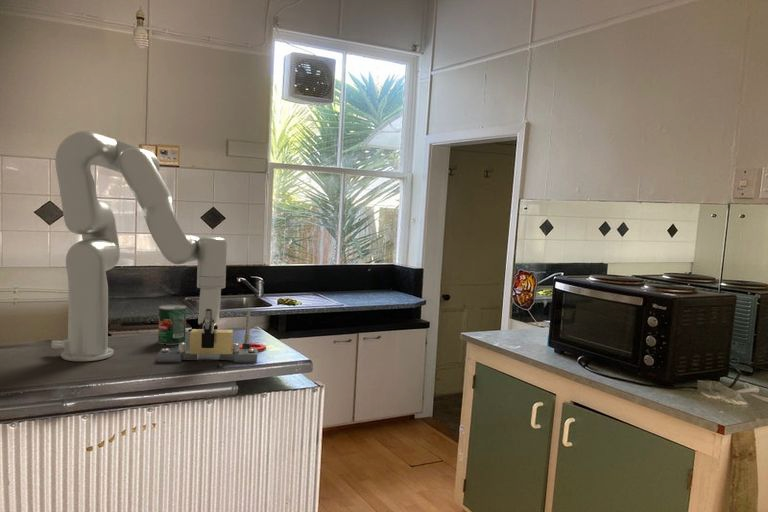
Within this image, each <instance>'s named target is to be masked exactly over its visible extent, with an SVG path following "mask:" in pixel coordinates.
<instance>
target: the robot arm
mask: <svg viewBox="0 0 768 512" xmlns="http://www.w3.org/2000/svg"><path fill="white" fill-rule="evenodd" d="M54 160H55V161H54V163H55V164H54V165H55V171H56V172H55V173H56V177H57V181H58V182H57V183H58V187H59V195H60V203H61V207H62V215H63V221H64V224H65V227H66V229H68V230H69V232H71V233H73V234H75V235H81V238H82V240H80V241H79V240H78V241H77V242H75V243H74V244H72V245H71V246H70V248H69V249H68V251H67V253H66V255H65V269H66V275H67V282H68V283H67V284H68V293H67V294H68V321H67V323H68V326H67V327H68V328H67V329H68V331H67V336H68V337H67V339H65V340H52V341H51V343H50V346H51V348H53V350H61V349H62V350H63V351H62V352H61V354H60V355H61V359H63V360H65V361H69V362H70V361H71V362H94V361H100V360H101V361H102V360H104V359H105V360H106V359H108V358H111V357H112V356H113V355H114V349H113V348H111V347H108V337H109V336H108V332H109V330H108V329H109V327H108V326H109V284H108V279H107V271H110V270H112V269H114V267H116V266H117V264H118V263H119V261H120V256H121V252H120V251H121V250H120V243H119V238H118V237H119V236H118V229H117V223H116V219H115V215H114V212H113V211H112V209H111V207H110V205H108V204H107V203H106V202H104V201H102V200H100V199H99V200H98V196H97V195H98V194H97V190H96V183H95V178H94V176H93V174H92V170H91V168H92V167H91V166H98V167H102V168H105V169H108V170H111V171H115V172H117V173H120V174H121V175H122V177H123V179H124V180H125V182H126V184H127V186H128V187H129V189H130V190H131V192H132V194H133V196H134V198H135V199H136V201H137V202H138V205H139V206H140V208H141V210H142V212H143V213H142V214H143V217H144V219H145V223H146V225H147V228H148V231H149V233H150V235H151V237H152V239H153V241H154V243H155V244H156V246H157V247H158V250H159V251H160V253H161V254H162V257H164V258H165V260H166V261H168V262H169V263H170V264H173V265H183V264H186V263H189V262H196V261H197V268H196V269H197V270H196V271H197V273H196V277H197V278H196V288H197V289H200V291H199V300H198V301H199V305H198V320H197V324H198V325H200V326H201V325H202V329H203V331H202V343H201V347H202V348H214V333H213V331H214V329H218V328H219V327H218V322H219V320H220V314H221V301H222V299H221V297H222V294H221V293H222V289H225V288H226V283H227V281H226V279H227V248H228V243H227V240H226V239H225V238H224V237H218V236H198V235H191V234H185V233H184V231H183V230H182V228H181V226H180V224H179V222H178V220H177V218H176V216H175V213H174V207H173V206H174V205H173V204H174V198H173V195H172V193H171V190H170V189H169V188H168V186H167V184H166V182H165V181H164V179H163V177H162V175H161V174H160V167H161V166H160V161H159V159H158V157H157V156H156V155H155V154H154V153H153V152H151V151H150V150H147V149H144V148H141V147H138V146H135V145H132V144H130V143H126V142H124V141H121V140H118V139H115V138H112V137H110V136H106V135H103V134H101V133H98V132H95V131H89V130H81V131H76V132H73V133H71V134H69V135H68V136H66V138H64V139H63V140H62V141H61V143H60V144H59V146H58V147H57V149H56V152H55V157H54Z"/></svg>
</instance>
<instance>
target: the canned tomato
mask: <svg viewBox="0 0 768 512" xmlns="http://www.w3.org/2000/svg"><path fill="white" fill-rule="evenodd" d="M186 318H187V306H186V305H183V304H163V305H159V306H158V331H157V332H158V337H157V339H158V341H157V342H158V344H159V345H163V344H166V345H165V346H176V345H177V344H178V345H179V343H184V342H185V343H186V332H187V331H186V330H187V329H186V327H187V319H186Z"/></svg>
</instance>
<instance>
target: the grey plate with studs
mask: <svg viewBox="0 0 768 512" xmlns="http://www.w3.org/2000/svg"><path fill="white" fill-rule="evenodd" d="M186 346H187V344H186V342H185V343H179V344H178V348H169V347H168V348H167V347H162V348H161V349H160V350H159V351H158V353H157V363H182V360H197V359H198V360H199V355H200V354H190V350H187V349H186ZM239 348H240V343H239V342H235V343H234V342H233V344H232V353H231V354H219V361H220V360H230V361H229V362H231V361H232V362H234V363H257V362H258V352H257V350H258V349H239ZM198 360H197V361H198Z"/></svg>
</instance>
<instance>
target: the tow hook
mask: <svg viewBox="0 0 768 512" xmlns="http://www.w3.org/2000/svg"><path fill="white" fill-rule="evenodd" d="M246 313H247V314H246V317H245V333H244V340H243V343H241V344H240V343H239V344H240V348H239V349H258V350H257V353H259V352H261V351H265V350H266V349H267V346H266V345H265V344H262V343H256V342H255V343H254V342H253V343H252V342H251V341H250V340H251V335H250V328H251V308H247V311H246Z"/></svg>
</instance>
